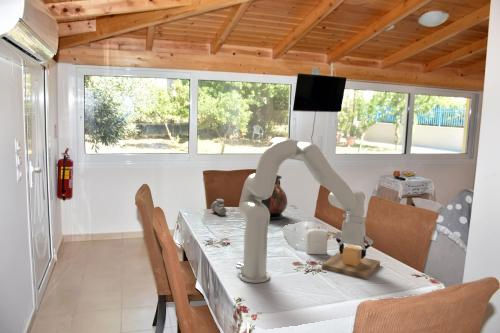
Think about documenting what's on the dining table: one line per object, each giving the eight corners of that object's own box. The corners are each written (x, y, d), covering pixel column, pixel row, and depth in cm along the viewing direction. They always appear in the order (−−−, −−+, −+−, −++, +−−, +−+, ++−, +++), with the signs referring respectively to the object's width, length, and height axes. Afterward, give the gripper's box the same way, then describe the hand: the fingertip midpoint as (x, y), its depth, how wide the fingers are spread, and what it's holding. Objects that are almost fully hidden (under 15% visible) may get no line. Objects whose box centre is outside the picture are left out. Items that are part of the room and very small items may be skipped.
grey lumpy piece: (209, 211, 271) (211, 197, 269) (220, 211, 275) (222, 197, 273) (216, 217, 261) (218, 203, 259) (227, 217, 264) (229, 203, 263)
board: (321, 268, 175) (322, 253, 174) (338, 256, 192) (338, 242, 191) (367, 279, 164) (368, 263, 163) (379, 265, 181) (380, 250, 180)
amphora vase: (266, 212, 277) (267, 172, 273) (292, 217, 264) (294, 175, 261) (247, 217, 260) (249, 175, 256) (275, 223, 247) (277, 179, 244)
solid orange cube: (342, 263, 177) (343, 249, 176) (347, 259, 182) (347, 245, 181) (356, 266, 173) (357, 252, 172) (360, 262, 179) (361, 248, 178)
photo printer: (306, 254, 192) (307, 230, 191) (305, 251, 197) (306, 227, 195) (327, 255, 192) (329, 230, 191) (326, 252, 196) (327, 228, 195)
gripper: (332, 216, 177) (330, 253, 179) (371, 223, 167) (368, 262, 169) (338, 213, 183) (336, 249, 185) (376, 219, 174) (373, 257, 176)
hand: (352, 255), depth 177 cm, fingers open, 9 cm apart
